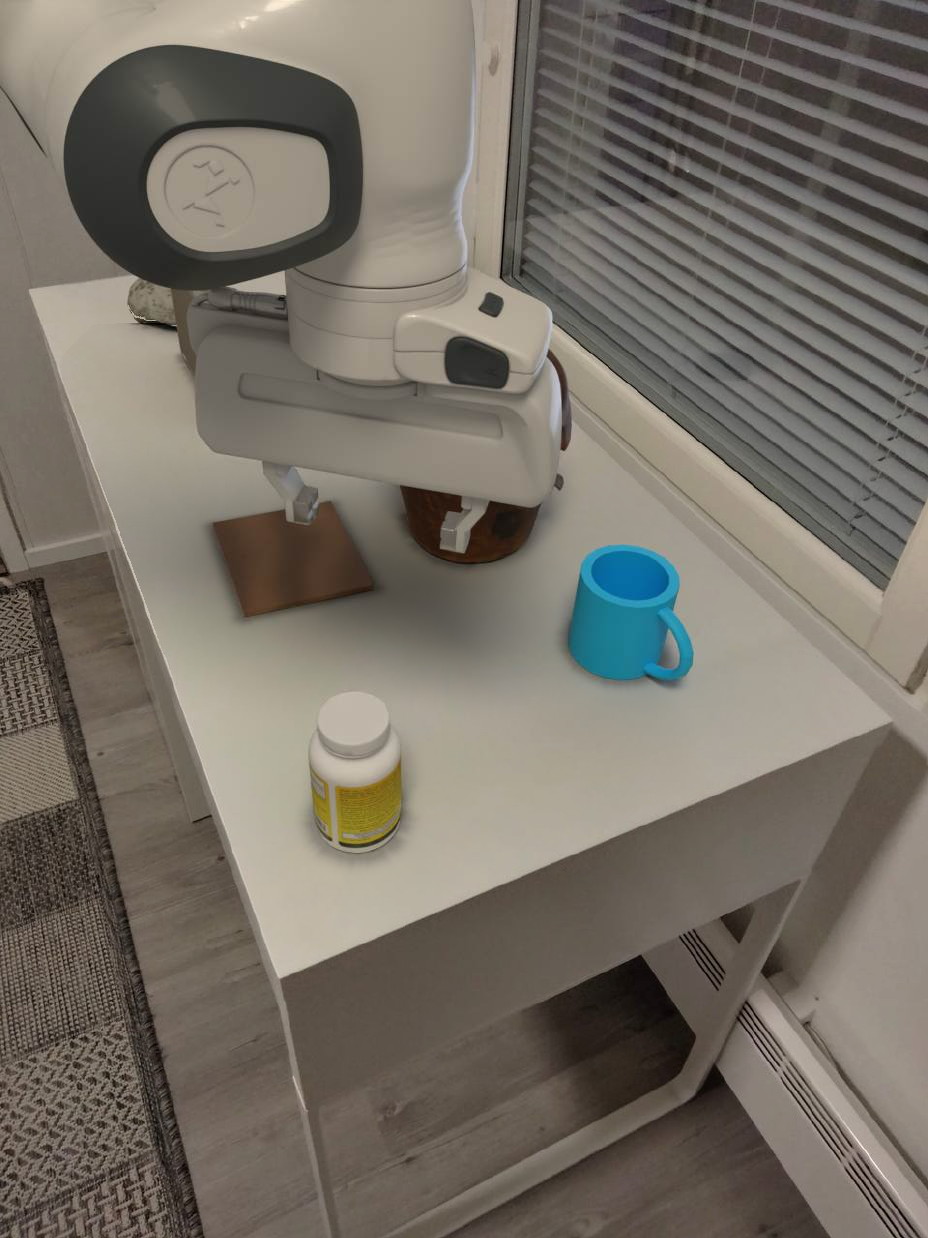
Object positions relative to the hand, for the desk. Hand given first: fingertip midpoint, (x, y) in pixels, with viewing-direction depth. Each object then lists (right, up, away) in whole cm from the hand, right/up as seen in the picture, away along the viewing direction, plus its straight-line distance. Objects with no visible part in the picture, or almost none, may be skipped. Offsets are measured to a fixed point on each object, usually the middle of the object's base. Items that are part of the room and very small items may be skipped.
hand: (378, 532), depth 57 cm
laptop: (-21, +24, +58) cm, 66 cm away
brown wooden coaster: (-11, +1, +33) cm, 35 cm away
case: (+6, +4, +38) cm, 39 cm away
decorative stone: (-34, +35, +70) cm, 85 cm away
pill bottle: (-2, -20, +12) cm, 23 cm away
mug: (+19, -9, +25) cm, 33 cm away
